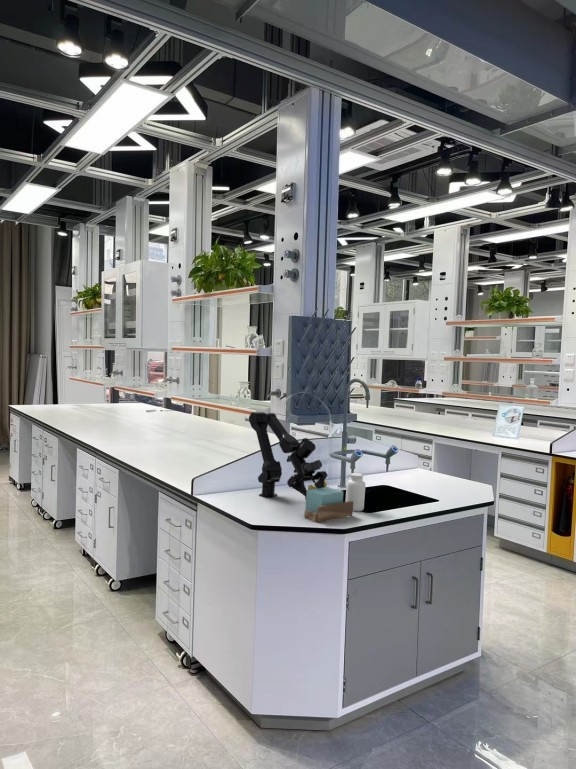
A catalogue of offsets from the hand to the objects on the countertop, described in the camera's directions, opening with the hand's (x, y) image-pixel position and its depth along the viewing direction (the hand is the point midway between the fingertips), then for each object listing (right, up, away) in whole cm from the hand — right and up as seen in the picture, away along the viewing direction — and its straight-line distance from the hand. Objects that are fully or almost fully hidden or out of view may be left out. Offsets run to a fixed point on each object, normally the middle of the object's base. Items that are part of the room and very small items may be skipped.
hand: (316, 496), depth 233 cm
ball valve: (+1, -6, +19) cm, 20 cm away
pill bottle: (+17, -7, +9) cm, 20 cm away
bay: (+5, -7, -6) cm, 10 cm away
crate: (+3, -7, -3) cm, 8 cm away
